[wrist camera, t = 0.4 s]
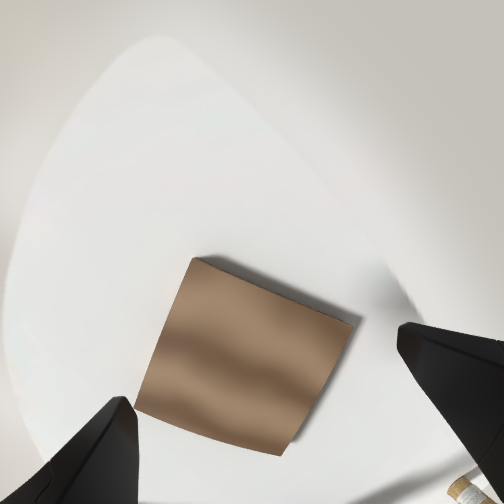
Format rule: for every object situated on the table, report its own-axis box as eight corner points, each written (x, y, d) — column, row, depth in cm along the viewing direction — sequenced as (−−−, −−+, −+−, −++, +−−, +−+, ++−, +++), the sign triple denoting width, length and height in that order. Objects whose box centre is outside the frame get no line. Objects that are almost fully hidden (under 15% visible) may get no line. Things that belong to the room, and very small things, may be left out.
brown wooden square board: (276, 444, 24) (280, 456, 22) (138, 397, 22) (133, 408, 20) (343, 321, 24) (353, 326, 22) (194, 257, 23) (192, 258, 21)
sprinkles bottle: (463, 483, 28) (501, 514, 15) (445, 497, 27) (482, 532, 14) (466, 471, 28) (507, 504, 14) (447, 486, 27) (487, 523, 14)
